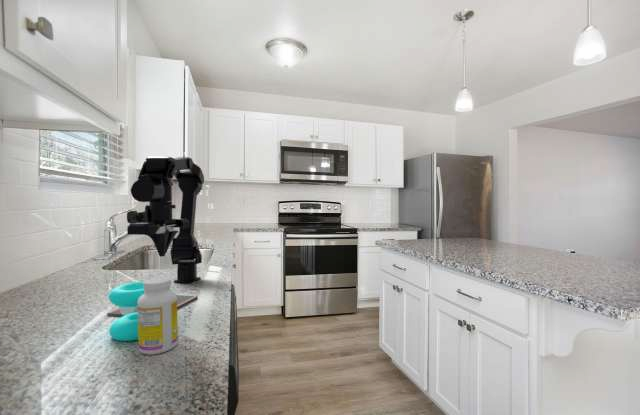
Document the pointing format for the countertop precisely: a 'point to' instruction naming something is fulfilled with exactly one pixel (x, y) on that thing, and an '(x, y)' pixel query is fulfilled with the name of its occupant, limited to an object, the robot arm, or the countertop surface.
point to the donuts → (128, 324)
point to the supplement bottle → (157, 317)
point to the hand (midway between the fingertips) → (162, 256)
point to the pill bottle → (128, 310)
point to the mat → (181, 302)
